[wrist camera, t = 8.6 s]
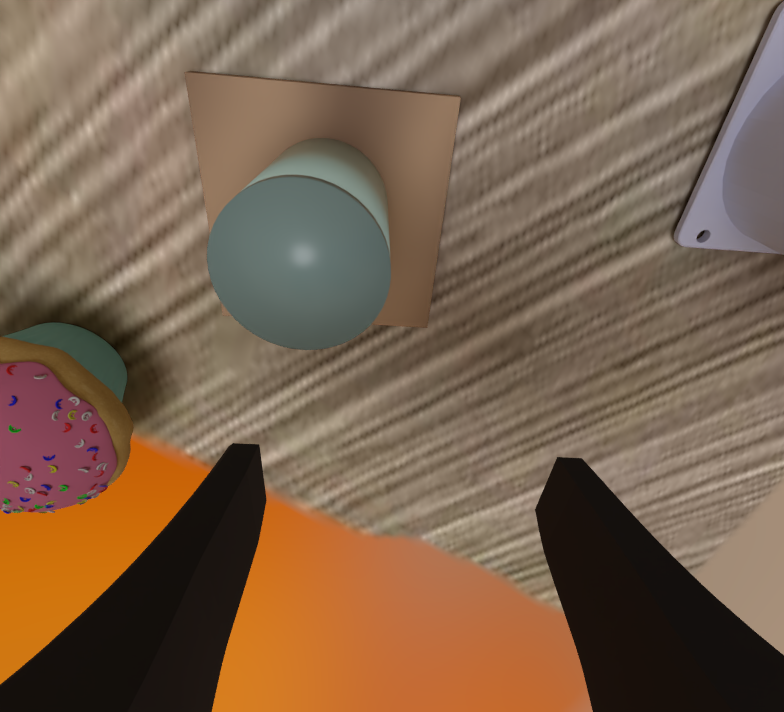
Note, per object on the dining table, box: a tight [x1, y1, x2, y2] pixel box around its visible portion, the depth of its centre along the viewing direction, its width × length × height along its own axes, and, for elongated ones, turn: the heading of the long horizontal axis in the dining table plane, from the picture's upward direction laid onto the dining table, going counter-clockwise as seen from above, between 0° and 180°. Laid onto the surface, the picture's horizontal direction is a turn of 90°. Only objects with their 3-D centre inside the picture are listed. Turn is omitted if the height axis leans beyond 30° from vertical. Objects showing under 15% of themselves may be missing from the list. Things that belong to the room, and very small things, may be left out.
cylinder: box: [207, 138, 391, 350], centre depth 14 cm, size 5×5×6 cm
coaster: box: [184, 71, 461, 328], centre depth 17 cm, size 9×9×1 cm
